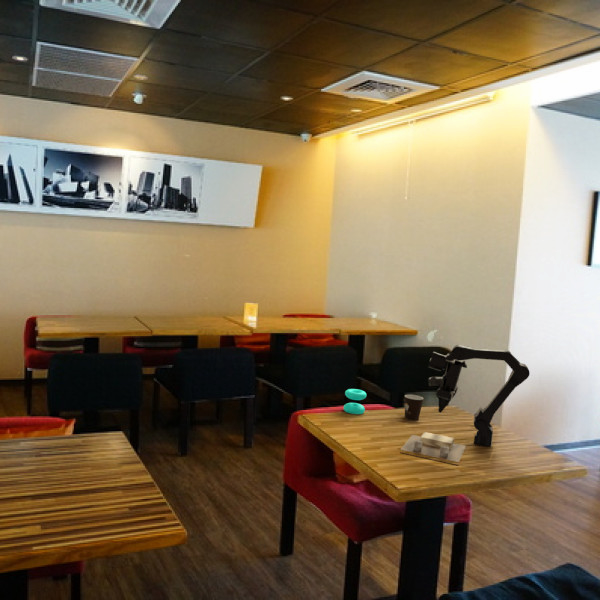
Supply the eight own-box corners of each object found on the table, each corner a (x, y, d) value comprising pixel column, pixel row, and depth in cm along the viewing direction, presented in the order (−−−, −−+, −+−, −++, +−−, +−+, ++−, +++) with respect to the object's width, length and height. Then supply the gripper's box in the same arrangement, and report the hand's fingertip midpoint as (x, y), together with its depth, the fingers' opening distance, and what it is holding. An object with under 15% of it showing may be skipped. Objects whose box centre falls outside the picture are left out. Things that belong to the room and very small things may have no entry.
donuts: (363, 395, 284) (342, 391, 287) (361, 416, 285) (340, 412, 288) (369, 390, 293) (349, 387, 297) (367, 411, 294) (346, 407, 298)
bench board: (465, 449, 251) (467, 437, 251) (458, 466, 231) (459, 453, 230) (411, 438, 259) (413, 426, 259) (399, 453, 239) (401, 440, 238)
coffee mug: (422, 421, 285) (425, 400, 284) (403, 419, 286) (406, 398, 285) (418, 414, 297) (420, 394, 296) (400, 412, 297) (402, 392, 296)
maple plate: (453, 443, 252) (454, 437, 252) (450, 449, 244) (451, 443, 244) (423, 437, 256) (424, 431, 256) (419, 443, 249) (420, 437, 249)
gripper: (437, 365, 268) (426, 399, 270) (429, 371, 251) (418, 407, 253) (462, 373, 264) (452, 408, 266) (456, 380, 247) (445, 417, 249)
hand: (441, 409), depth 259 cm, fingers open, 9 cm apart
